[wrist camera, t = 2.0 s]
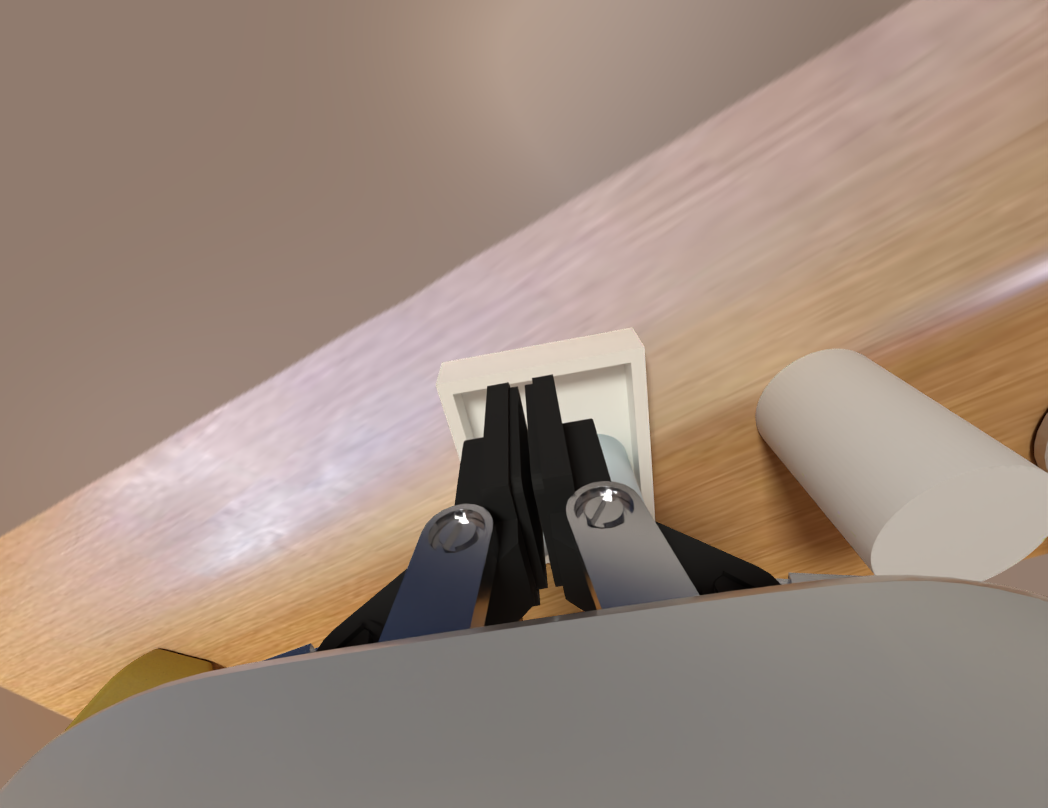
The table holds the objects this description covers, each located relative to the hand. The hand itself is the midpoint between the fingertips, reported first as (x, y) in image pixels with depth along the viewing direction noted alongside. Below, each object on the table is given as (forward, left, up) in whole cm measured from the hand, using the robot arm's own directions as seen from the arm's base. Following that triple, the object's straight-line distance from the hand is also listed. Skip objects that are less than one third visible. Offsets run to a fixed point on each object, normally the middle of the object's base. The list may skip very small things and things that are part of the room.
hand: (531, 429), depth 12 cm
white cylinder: (-18, +13, -17) cm, 28 cm away
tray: (0, +13, -17) cm, 21 cm away
